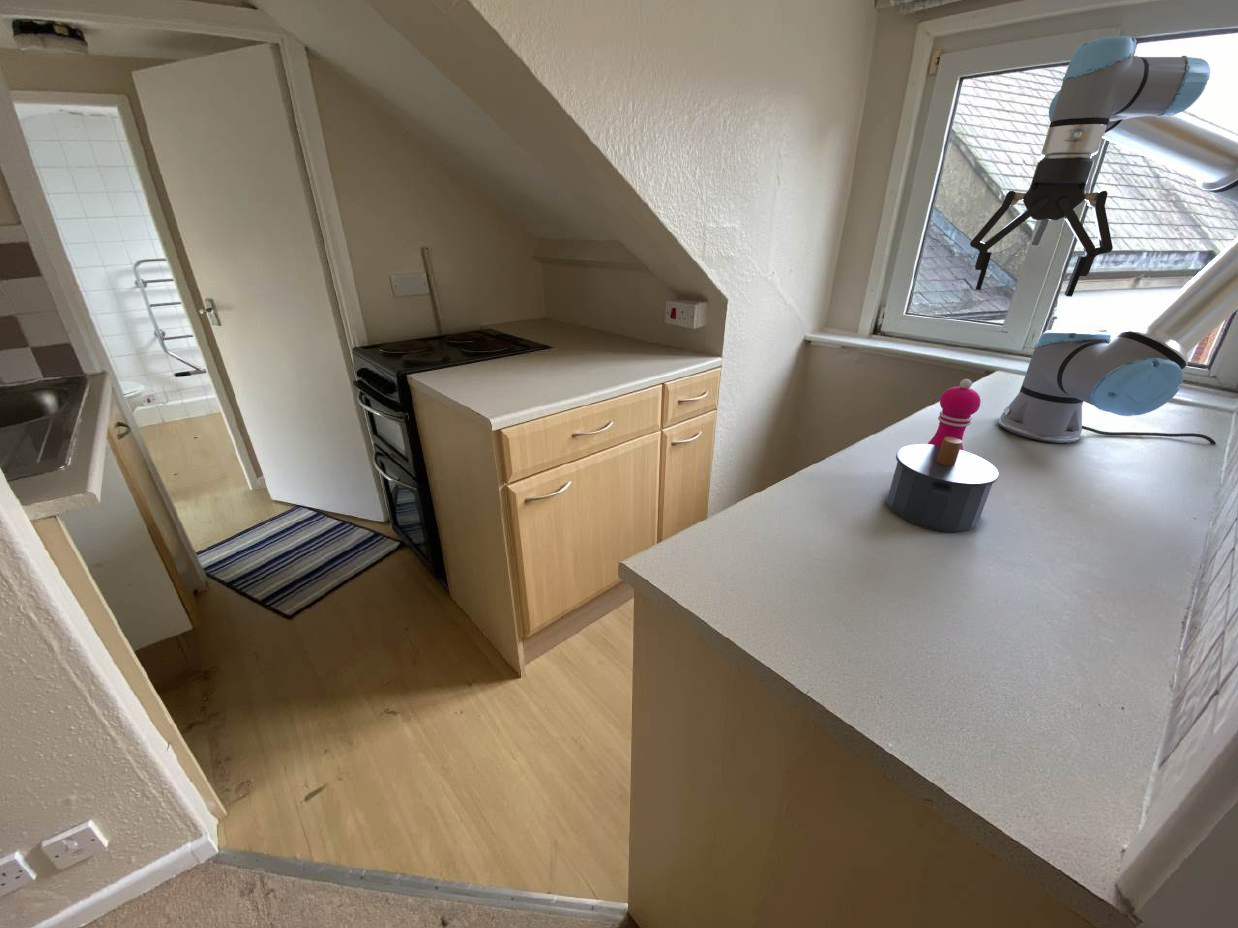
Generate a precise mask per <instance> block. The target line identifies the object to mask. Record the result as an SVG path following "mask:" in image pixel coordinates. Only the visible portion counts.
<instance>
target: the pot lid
mask: <svg viewBox="0 0 1238 928" xmlns="http://www.w3.org/2000/svg"><path fill="white" fill-rule="evenodd" d="M962 444H963V440H960V439H958V438H954V437H945V438H944V440H943V443H942V446H939V445H930V444H928V443H916V444H915V443H914V444H908V445H905V446H902V447H900V448H898V450H897V451H896V453H895V459H896V462H898V463H899V464H900V465H901V466H902V467H904V468H905V469H906V470H908V471H910V472H912V473H914V474H916V475H918V476H920V477H923V478H926V479H928V480H932V481H935V482H939V483H943V484H948V485H954V486H961V487H983V486H988V485H991V484H992V485H993V484H995V483H996V482H997V481H998V479H999V477H1000V473H999V470H998V468H997V467H996V466H995V465H993V464H992V463H991V462H989V461H988V460H986V459H984V458H982V457H981V456H978V455H976V454H974V453H971V452H969V451H965V450H963V451H962V450H960V448H961V445H962Z"/></svg>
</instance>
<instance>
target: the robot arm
mask: <svg viewBox="0 0 1238 928" xmlns="http://www.w3.org/2000/svg"><path fill="white" fill-rule="evenodd" d="M1136 47H1137V39H1136V38H1135V37H1133V36H1130V35H1116V36H1115V35H1114V36H1105V37H1100V38H1096V39H1092V40H1088V41H1086V42H1084V43H1081V44H1080V45H1079V46H1078V47H1077V48H1075V50H1074V52H1073V54H1072V56H1071V59H1070V60H1069V63H1068V65H1067V68H1066V71H1065V74H1064V76H1063V78H1062V83H1061V86H1060V89H1059V90H1058V91H1057V92H1056V94H1055V95H1054V97H1053V98H1052V100H1051V101H1050V105H1049V107H1048V119H1049V122H1050V123H1049V127H1048V129H1047V131H1046V135H1045V137H1044V141H1043V144H1042V147H1041V150H1040V153H1039V155H1040V156H1041V157H1043V158H1042V159H1040V160H1039V162H1037V164H1036V167H1035V170H1034V173H1033V176H1032V179H1031V183H1030V185H1029V187H1028V190H1027V191H1026V192H1018V191H1014V190H1009V191H1007V192H1006V194H1005V195H1004V198H1003V201H1002V203H1001V204H1000V206H999V207H998V209H997V210H996V211H995V212H994V213H993V215H992V216H991V217H990V218H989V219H988V220H987V222H986V223H985V224H984V226H983V227H982V228H981V229H980V230H979V231H978V232H977V233H976V235H975V236H974V237H973V238H972V240H971V241H970V243H969V246H970V247H971V248H974V249H976V250H978V254H977V258H976V261H975V265H974V270H975V271H980V273H979V276H978V279H977V282H976V285H975V290H977V291H981V290H982V286H983V283H984V280H985V277H986V273H987V270H988V267H989V264H990V260H991V257H992V253H993V252H992V250H991V251H989V250H990V249H991V248H992V247H993V246H994V245H996V244H997V243H999V242H1000V241H1001V240H1002V239H1004V238H1005V237H1006V236H1008V235H1009V234H1010V233H1011V232H1013V231H1014V230H1015V229H1016V228H1017V227H1019V226H1020V225H1022V224H1023V223H1024V222H1025V221H1027V220H1028V219H1030V218H1031V219H1032V220H1034V221H1044V220H1049V221H1060V220H1062V219H1064V220H1065V222H1066V223H1067V225H1068V226H1069V228H1070V229H1071V232H1072V233H1073V235H1074V237H1075V238H1076V240H1077V241H1078V244H1079V245H1080V246H1081V248H1082V251H1084V255H1080V254H1079V255H1078V256H1077V260H1076V262H1075V264H1074V267H1073V270H1072V273H1071V274H1070V275H1071V276H1070V277H1069V281H1068V284H1067V286H1066V289H1065V291H1064V296H1065V297H1070V298H1072V297H1073V295H1074V293H1075V290H1076V287H1077V285H1078V282H1079V280H1080V277H1087V276H1088V275H1089V274H1090V271H1091V268H1092V266H1093V263H1094V261H1095V258H1096V257H1097V256H1099V255H1103V254H1108V253H1111V252H1112V251H1113V249H1114V247H1113V241H1112V236H1111V232H1110V226H1109V221H1108V215H1107V211H1106V210H1107V209H1106V202H1107V199H1108V195H1109V193H1108V191H1107V190H1100V191H1099V190H1098V191H1097V192H1086V186H1087V184H1088V181H1089V178H1090V175H1091V173H1092V170H1093V167H1094V164H1095V160H1094V158H1092V157H1093V156H1094V155H1097V154H1098V153H1099V150H1100V146H1101V144H1102V141H1103V139H1105V140H1106V141H1109V142H1111V143H1114V144H1116V145H1118V146H1120V147H1123V148H1125V149H1128V150H1130V151H1132V152H1135V153H1137V154H1139V155H1141V156H1144V157H1146V158H1147V159H1148V158H1149V159H1151V160H1153V161H1155V162H1157V163H1160V164H1161V165H1164V166H1167V167H1169V168H1171V169H1174V170H1176V171H1178V172H1181V173H1183V174H1185V175H1188V176H1189V177H1192V178H1195V179H1196V183H1197V186H1198V187H1199V188H1200V189H1202V190H1204V191H1206V192H1208V193H1209V192H1210V193H1211V194H1213V195H1215V196H1217V197H1220V198H1222V199H1225V200H1227V201H1230V202H1232V203H1235V204H1237V205H1238V133H1237V132H1234V131H1232V130H1230V129H1227V128H1225V127H1224V126H1223V127H1222V126H1221V125H1219V124H1217V123H1214V122H1212V121H1209V120H1207V119H1205V118H1203V117H1201V116H1199V115H1197V114H1194V113H1192V112H1189V111H1188V109H1189V108H1190V107H1191V106H1192V105H1194V103H1195V102H1196V101H1198V99H1200V97H1201V95H1202V94H1203V93H1204V91H1205V89H1206V86H1207V85H1208V81H1209V80H1210V76H1211V67H1210V65H1209V62H1208V61H1207V60H1205V59H1203V58H1201V57H1200V58H1199V57H1191V56H1187V55H1182V56H1137V55H1135V53H1136V50H1135V49H1136ZM1021 200H1022V203H1023V204H1024V207H1025V210H1023V211H1022V212H1021V213H1020V214H1018V216H1017V217H1015V218H1014V219H1013V220H1011V221H1010V222H1009V223H1007V224H1006V225H1005V226H1004V227H1003V228H1001V229H1000V230H999V231H998V232H996V233H995V234H994V235H993V236H991V237H990V238H988V239H987V240H986V241H985V242H983V241H982V240H983V239H985V237H986V236H987V235H988V233H989V232H990V231H991V230H992V228H994V226H995V225H996V224H997V223H998V222H999V220H1000V219H1001V218H1002V217H1003V216H1004V215H1005V214H1006V212H1007V211H1008V210H1009V208H1010V207H1011V206H1015V205H1016V204H1017V203H1018V202H1019V201H1021ZM1084 201H1086V202H1087V206H1089V207H1092V214H1093V220H1094V225H1095V229H1096V234H1097V240H1098V246H1095V244H1094V242H1093V241H1092V239H1091V238H1090V236H1089V234H1088V232H1087V231H1086V229H1085V227H1084V226H1083V224H1082V222H1081V221H1080V219H1079V216H1078V215H1077V213H1076V211H1075V209H1077V208H1078V206H1080V205H1081V204H1082V203H1083V202H1084ZM1237 310H1238V236H1237V237H1236V238H1235V239H1233V241H1232V242H1231V243H1230V244H1229V245H1228V246H1226V247H1225V248H1224V249H1223V250H1222V251H1220V253H1219V254H1218V255H1216V256H1215V257H1214V258H1213V259H1212V260H1211V261H1210V262H1209V263H1207V265H1206V266H1205V267H1204V268H1203V269H1201V270H1200V271H1199V272H1198V273H1197V274H1196V275H1195V276H1194V277H1192V278H1191V280H1189V281H1188V282H1187V283H1186V284H1185V285H1184V286H1183V287H1182V288H1181V289H1180V290H1178V291H1177V292H1176V293H1175V294H1174V295H1173V296H1172V297H1171V298H1170V299H1169V300H1168V301H1166V302H1165V303H1164V305H1162V306H1161V307H1160V308H1159V309H1158V310H1157V311H1156V312H1155V313H1154V314H1152V315H1151V316H1150V317H1149V318H1148V319H1147V320H1146V321H1144V322H1143V324H1142V325H1141V326H1139V327H1136V328H1131V329H1130V328H1129V329H1124V330H1123V331H1122V332H1120V333H1119V334H1118V335H1117V336H1116V337H1115V338H1114V339H1113V340H1111V337H1112V336H1111V334H1110V333H1109V332H1103V331H1095V330H1094V331H1093V330H1075V329H1050V330H1046V331H1044V332H1042V333H1041V335H1040V336H1039V339H1038V341H1037V343H1036V345H1034V350H1033V352H1032V356H1031V359H1030V361H1029V363H1028V367H1027V369H1026V372H1025V376H1024V378H1023V381H1022V384H1021V387H1020V389H1019V392H1018V394H1017V395H1016V396H1015V397H1014V398H1013V400H1012V401H1011V402H1010V404H1008V405H1007V406H1006V407H1005V408H1004V409H1003V412H1002V413H1001V415H1000V416H999V420H998V425H999V426H1000V427H1001V428H1002V429H1004V430H1006V431H1008V432H1009V433H1012V434H1014V435H1017V436H1020V437H1022V438H1027V439H1030V440H1034V441H1040V442H1045V443H1054V444H1055V443H1056V444H1069V443H1075V442H1077V441H1078V440H1080V437H1081V435H1082V431H1083V430H1085V431H1087V432H1088V431H1089V432H1092V433H1095V434H1099V435H1103V436H1137V437H1138V436H1140V437H1141V436H1142V437H1143V436H1145V437H1146V436H1147V437H1168V438H1170V437H1171V438H1180V437H1184V438H1185V437H1190V438H1191V437H1194V438H1200V439H1204V440H1206V441H1208V442H1209V443H1210V444H1212V445H1217V442H1216V441H1215V440H1214V439H1213V438H1212V437H1210V436H1208V435H1205V434H1202V433H1195V432H1193V433H1192V432H1184V433H1167V432H1145V431H1144V432H1143V431H1142V432H1140V431H1139V432H1138V431H1137V432H1136V431H1117V432H1116V431H1103V430H1098V429H1095V428H1092V427H1089V426H1085V425H1083V404H1084V403H1087V404H1089V405H1091V406H1093V407H1095V408H1096V409H1098V410H1100V411H1103V412H1107V413H1111V414H1114V415H1117V416H1121V417H1132V416H1141V415H1146V414H1148V413H1151V412H1153V411H1156V410H1158V409H1159V408H1161V407H1163V406H1164V405H1166V404H1167V403H1169V402H1170V400H1172V399H1173V398H1174V397H1175V396H1176V395H1177V394H1178V392H1179V390H1180V387H1179V385H1182V384H1183V382H1184V372H1183V370H1184V369H1185V368H1186V367H1187V366H1188V365H1189V359H1188V358H1189V357H1188V354H1189V352H1190V351H1192V350H1193V349H1194V348H1195V347H1196V346H1197V345H1198V344H1200V343H1201V341H1203V340H1205V339H1206V337H1208V336H1209V335H1210V334H1211V333H1212V332H1213V331H1214V330H1216V328H1218V327H1219V326H1220V325H1221V324H1222V323H1224V321H1226V320H1227V319H1229V318H1230V317H1231V316H1232V315H1233V314H1234V313H1235V312H1236V311H1237Z"/></svg>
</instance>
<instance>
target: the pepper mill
mask: <svg viewBox="0 0 1238 928" xmlns="http://www.w3.org/2000/svg"><path fill="white" fill-rule="evenodd" d="M972 385H973V382H972V380H970V379H969V378H963V379H962V380H960V382H959V386H953V387H950V388H947V389H946V390H945V391H944V392H943V393H942V395H941V397H940V400H939V405H940V407H941V409H942V410H941V411H940V412H939V416H938V417H937V419H938V423H939V424H938V428H937V429H936V432H935V433H934V434H933V437H932V438H931V439H930V440H929V441H928V442H927V444H930V445H939V446H942V443H943V440H944V438H945V437H954V438H958V439H960V440H962V441H963V439H964V434H965V431H966V428H967V427H968V426H970V425H971V421H972V420H973V417H972V415H973V414H976V413H977V412H978V410H979V409H980V407H981V404H982V403H981V402H982V401H981V395H980V394H979V393H978V392H977V391H976V390H975V389H973V388H971V387H972ZM963 445H964V444H963V443H962V445H961V448H960V450H962V451H964V446H963Z"/></svg>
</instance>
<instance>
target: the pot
mask: <svg viewBox="0 0 1238 928" xmlns="http://www.w3.org/2000/svg"><path fill="white" fill-rule="evenodd" d="M992 487H993V484H991V485H988V486H983V487H961V486H954V485H948V484H943V483H939V482H935V481H932V480H928V479H926V478H923V477H920V476H918V475H916V474H914V473H912V472H910V471H908V470H906V469H905V468H904V467H902V466H901V465H900V464H899V463H898V461H896V466H895V469H894V473H893V476H892V480H891V484H890V488H889V491H888V494H887V497H886V503H887V506H888V508H889V509H890V511H892V512H893V513H894V514H895V515H897V516H898V517H899V518H901V519H903V520H905V521H906V522H908V523H910V524H913V525H916V526H918V527H921V528H924V529H927V530H932V531H937V532H945V533H963V532H968V531H971V530H973V529H974V528H975V527H976V526H977V524H978V523H979V521H980V518H981V516H982V513H983V510H984V509H985V505H986V502H987V499H988V497H989V494H990V491H991V489H992Z"/></svg>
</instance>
